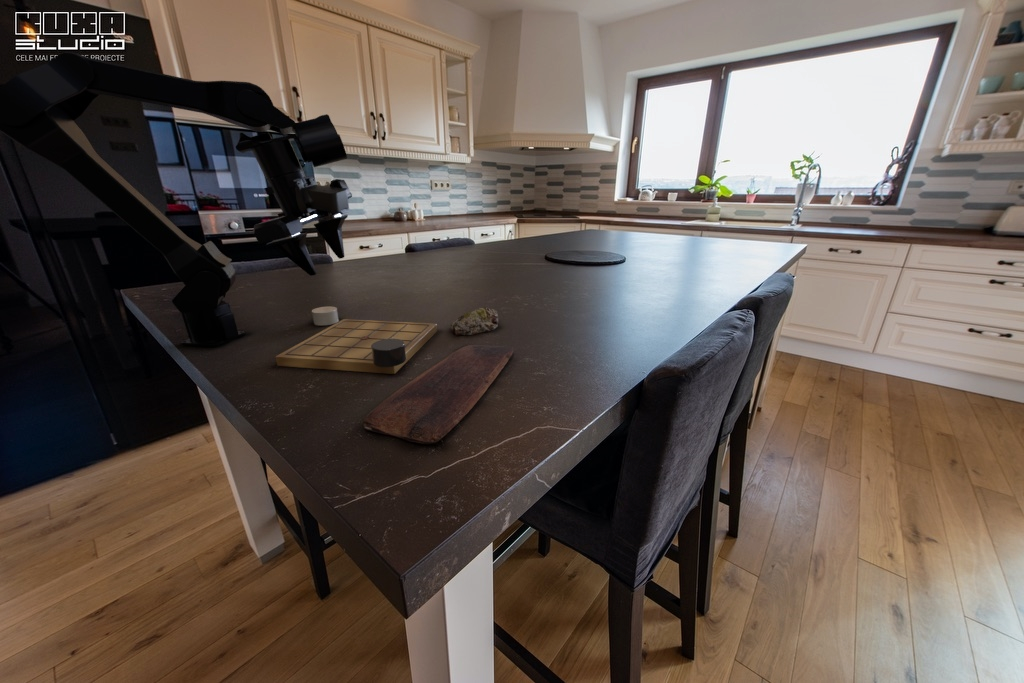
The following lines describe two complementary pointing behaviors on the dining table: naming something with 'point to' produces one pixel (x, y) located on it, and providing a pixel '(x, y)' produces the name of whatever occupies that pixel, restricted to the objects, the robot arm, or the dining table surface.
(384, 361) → the black stone
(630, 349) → the dining table surface
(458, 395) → the wooden tablet
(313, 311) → the cream stone
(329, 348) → the game board
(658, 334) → the dining table surface
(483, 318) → the mineral rock
